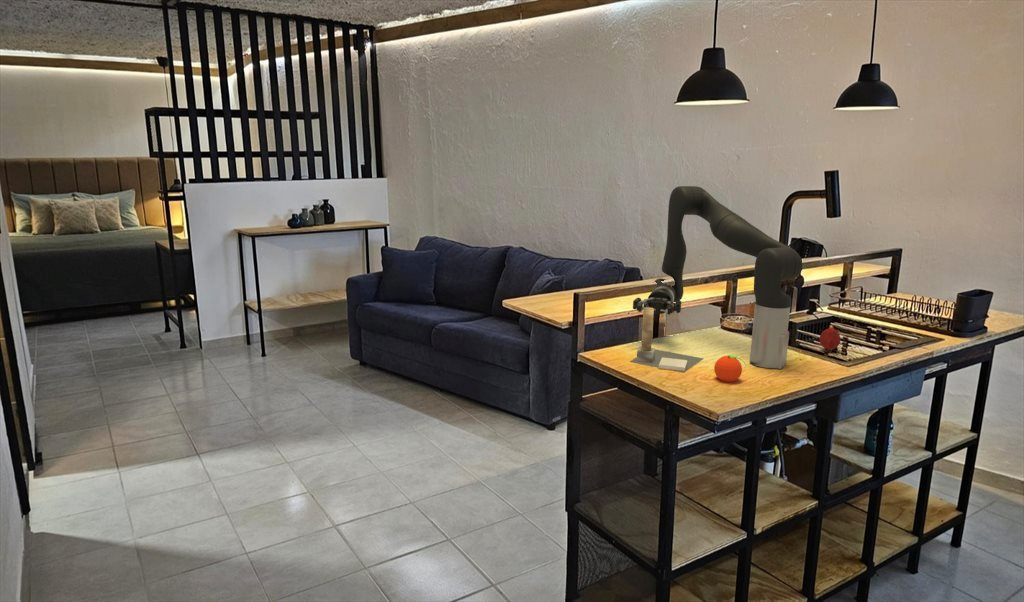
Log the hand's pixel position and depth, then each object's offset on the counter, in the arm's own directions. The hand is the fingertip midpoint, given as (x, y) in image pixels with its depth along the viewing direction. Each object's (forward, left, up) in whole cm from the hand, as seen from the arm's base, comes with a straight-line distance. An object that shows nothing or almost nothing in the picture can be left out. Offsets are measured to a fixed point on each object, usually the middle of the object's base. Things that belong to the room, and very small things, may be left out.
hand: (654, 310), depth 198 cm
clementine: (-27, +13, -13) cm, 33 cm away
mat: (-8, +7, -13) cm, 17 cm away
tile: (-10, +8, -12) cm, 18 cm away
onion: (-43, -34, -13) cm, 56 cm away
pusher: (-3, +11, -12) cm, 16 cm away
